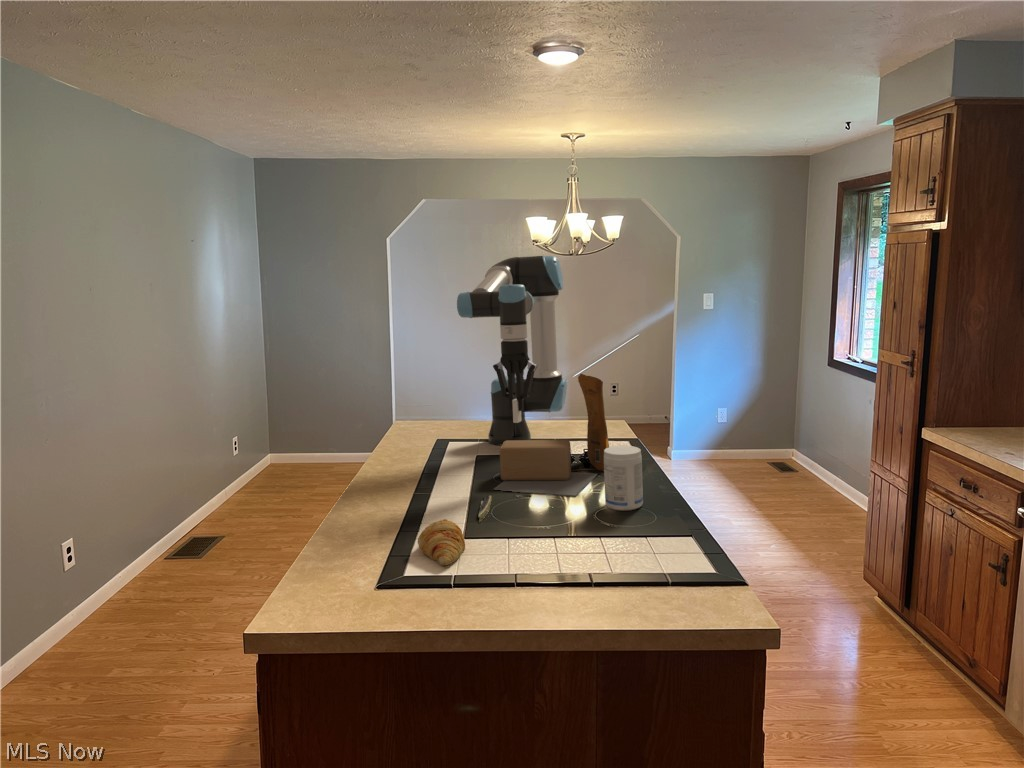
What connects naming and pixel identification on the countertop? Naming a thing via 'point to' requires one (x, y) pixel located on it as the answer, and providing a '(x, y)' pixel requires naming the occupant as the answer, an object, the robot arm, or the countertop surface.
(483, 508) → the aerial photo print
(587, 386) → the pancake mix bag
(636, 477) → the supplement tub
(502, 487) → the mat
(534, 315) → the robot arm
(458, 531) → the croissant
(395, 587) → the countertop surface
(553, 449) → the wooden block
